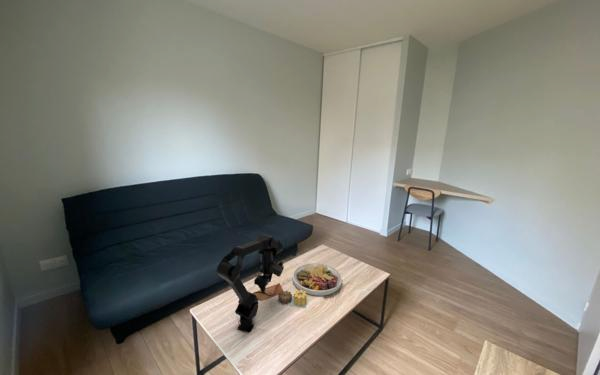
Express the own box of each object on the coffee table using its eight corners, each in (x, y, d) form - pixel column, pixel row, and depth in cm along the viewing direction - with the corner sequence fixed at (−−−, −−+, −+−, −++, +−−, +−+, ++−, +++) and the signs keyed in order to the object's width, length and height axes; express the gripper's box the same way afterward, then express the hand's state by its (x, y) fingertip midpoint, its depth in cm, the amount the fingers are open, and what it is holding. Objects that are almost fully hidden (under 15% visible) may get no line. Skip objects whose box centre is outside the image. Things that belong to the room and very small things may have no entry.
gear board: (305, 310, 124) (305, 300, 123) (276, 305, 127) (276, 296, 126) (307, 300, 132) (308, 291, 131) (280, 296, 135) (280, 287, 133)
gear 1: (290, 305, 126) (290, 299, 125) (276, 303, 127) (276, 296, 126) (293, 296, 133) (293, 290, 132) (280, 294, 134) (280, 288, 133)
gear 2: (292, 305, 126) (292, 297, 125) (295, 297, 132) (295, 289, 131) (305, 307, 124) (305, 299, 123) (307, 299, 131) (307, 291, 130)
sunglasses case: (258, 306, 126) (255, 292, 128) (253, 305, 132) (250, 292, 133) (287, 293, 137) (284, 281, 138) (281, 293, 142) (278, 282, 144)
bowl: (282, 280, 149) (282, 269, 148) (316, 264, 169) (316, 254, 167) (317, 306, 127) (317, 293, 126) (351, 285, 147) (352, 273, 145)
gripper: (276, 271, 109) (276, 301, 112) (287, 252, 127) (286, 279, 130) (253, 268, 111) (253, 297, 114) (266, 250, 129) (266, 276, 132)
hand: (266, 287), depth 123 cm, fingers open, 9 cm apart
